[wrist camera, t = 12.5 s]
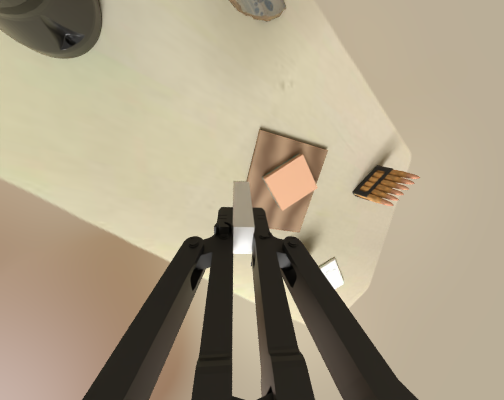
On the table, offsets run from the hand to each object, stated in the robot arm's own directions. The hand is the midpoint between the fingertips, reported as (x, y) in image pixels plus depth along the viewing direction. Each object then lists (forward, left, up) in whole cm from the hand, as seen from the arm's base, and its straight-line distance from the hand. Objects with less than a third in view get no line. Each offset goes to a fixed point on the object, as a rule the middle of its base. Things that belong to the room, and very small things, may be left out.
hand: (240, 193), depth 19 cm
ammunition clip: (+43, +4, -27) cm, 51 cm away
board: (+17, -3, -27) cm, 32 cm away
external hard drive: (+45, -30, -28) cm, 60 cm away
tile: (+14, -5, -25) cm, 29 cm away
